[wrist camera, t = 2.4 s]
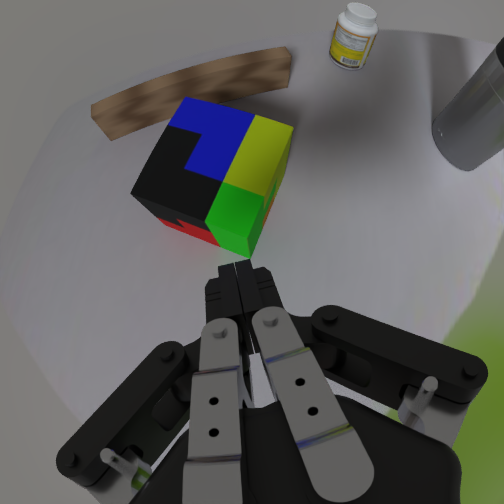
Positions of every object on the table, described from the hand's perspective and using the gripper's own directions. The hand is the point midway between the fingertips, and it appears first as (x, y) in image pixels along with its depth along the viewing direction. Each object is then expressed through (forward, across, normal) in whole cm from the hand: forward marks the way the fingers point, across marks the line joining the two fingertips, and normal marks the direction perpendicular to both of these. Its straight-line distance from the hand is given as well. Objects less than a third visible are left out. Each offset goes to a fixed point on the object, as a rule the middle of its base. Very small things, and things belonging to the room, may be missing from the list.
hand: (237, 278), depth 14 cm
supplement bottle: (+31, -22, -11) cm, 40 cm away
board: (+28, +1, -8) cm, 30 cm away
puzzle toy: (+20, 0, +3) cm, 20 cm away
